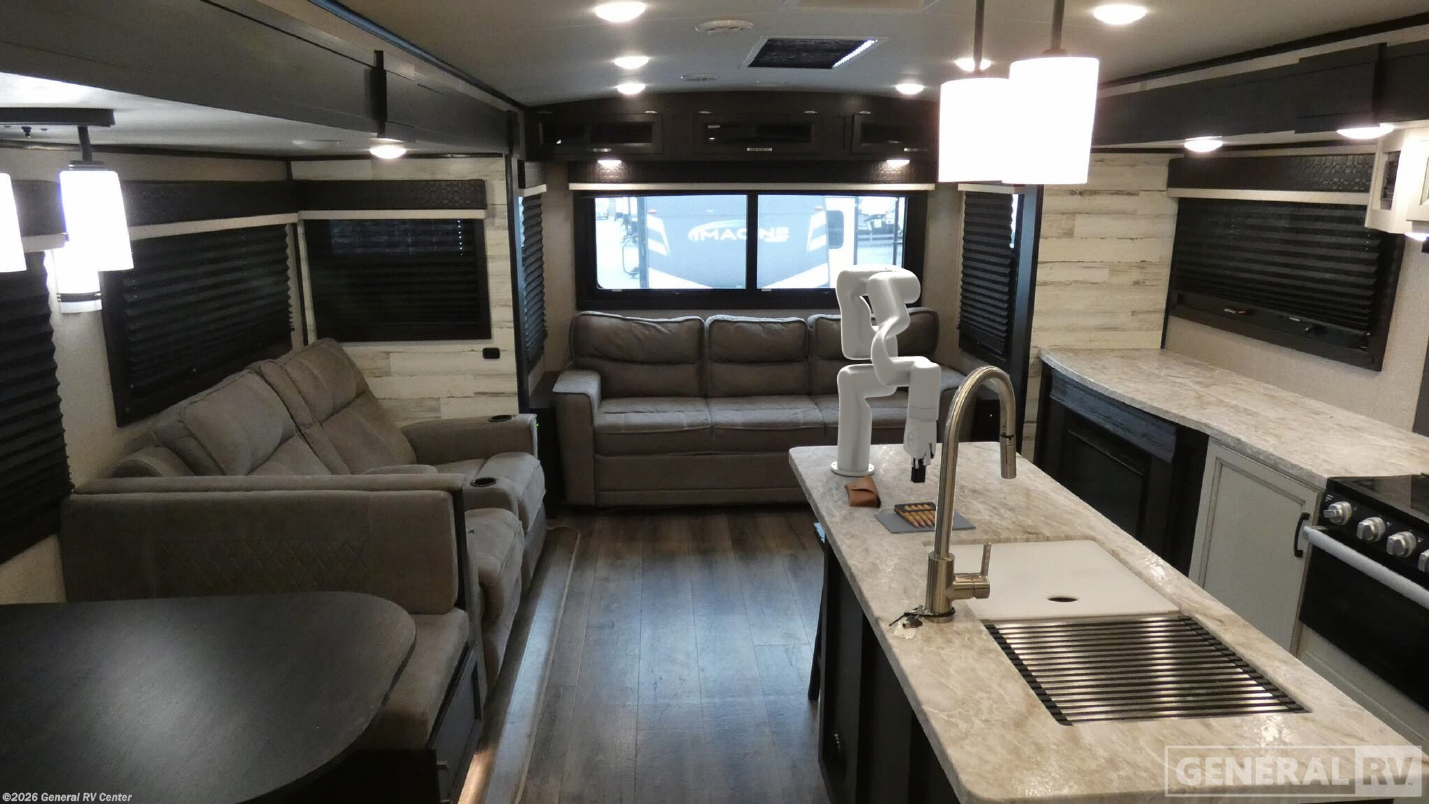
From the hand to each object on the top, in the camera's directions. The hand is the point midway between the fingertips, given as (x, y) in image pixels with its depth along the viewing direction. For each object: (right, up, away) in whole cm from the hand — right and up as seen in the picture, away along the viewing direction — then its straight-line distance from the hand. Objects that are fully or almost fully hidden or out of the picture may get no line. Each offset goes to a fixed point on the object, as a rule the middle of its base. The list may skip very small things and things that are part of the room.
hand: (917, 481), depth 227 cm
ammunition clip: (0, -7, +4) cm, 7 cm away
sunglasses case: (-12, -6, +15) cm, 20 cm away
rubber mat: (+1, -10, -3) cm, 10 cm away
